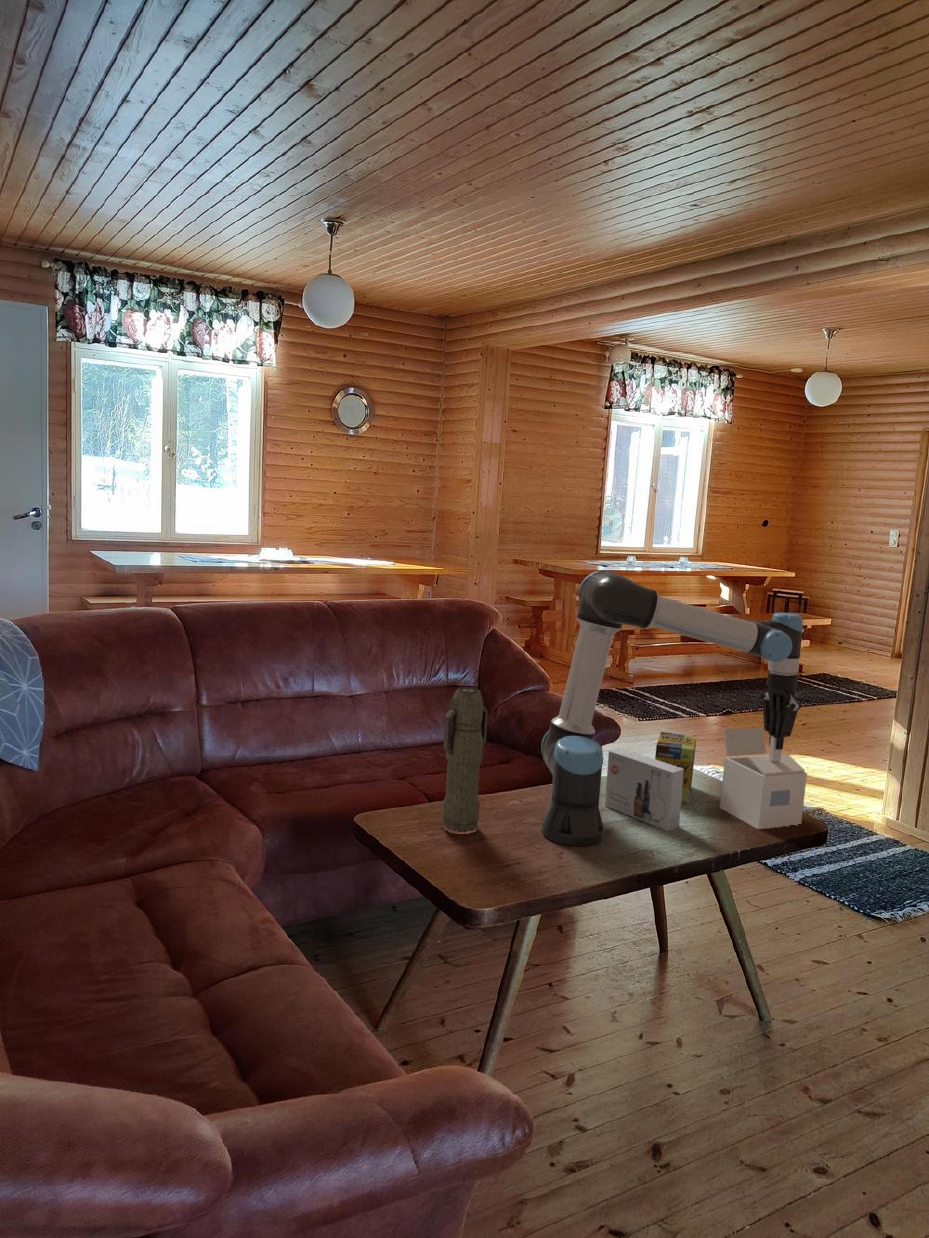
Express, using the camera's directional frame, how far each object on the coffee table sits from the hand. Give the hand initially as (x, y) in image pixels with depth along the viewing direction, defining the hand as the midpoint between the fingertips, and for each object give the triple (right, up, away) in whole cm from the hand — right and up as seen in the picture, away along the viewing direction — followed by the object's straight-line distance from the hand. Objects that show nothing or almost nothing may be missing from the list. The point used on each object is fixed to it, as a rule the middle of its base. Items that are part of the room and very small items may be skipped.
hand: (774, 760), depth 236 cm
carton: (-2, -16, +6) cm, 17 cm away
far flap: (-4, +3, +11) cm, 12 cm away
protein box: (-22, -13, +21) cm, 33 cm away
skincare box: (-35, -15, 0) cm, 39 cm away
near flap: (0, -1, -1) cm, 1 cm away
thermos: (-83, -15, -16) cm, 86 cm away
